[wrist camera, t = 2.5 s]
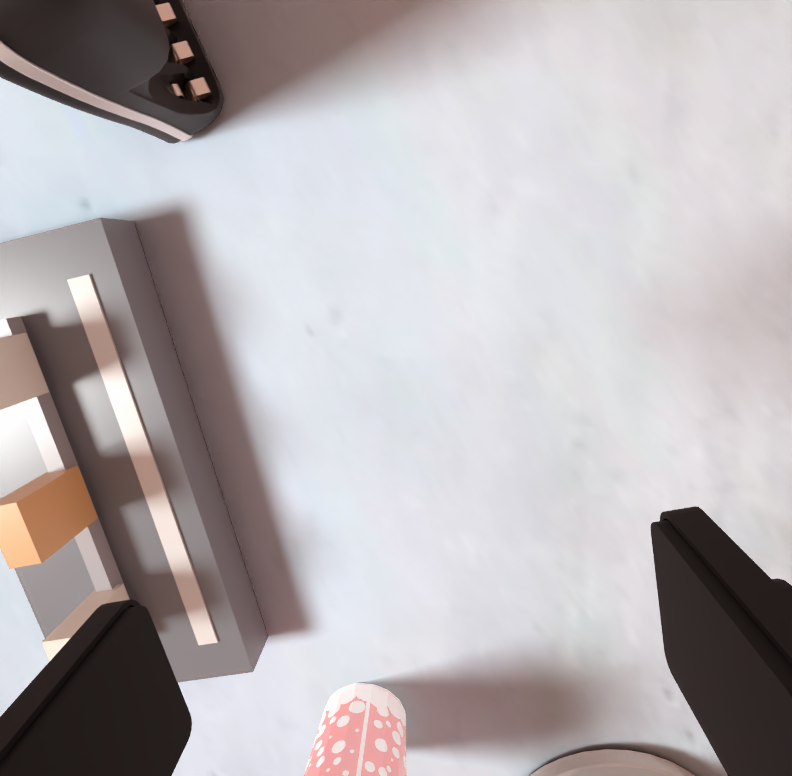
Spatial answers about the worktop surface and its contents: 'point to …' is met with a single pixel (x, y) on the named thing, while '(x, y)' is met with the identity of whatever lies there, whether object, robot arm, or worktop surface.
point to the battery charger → (113, 61)
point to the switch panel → (126, 447)
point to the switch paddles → (50, 490)
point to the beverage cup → (360, 734)
